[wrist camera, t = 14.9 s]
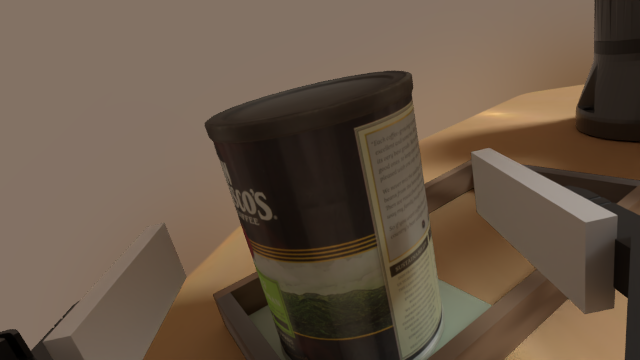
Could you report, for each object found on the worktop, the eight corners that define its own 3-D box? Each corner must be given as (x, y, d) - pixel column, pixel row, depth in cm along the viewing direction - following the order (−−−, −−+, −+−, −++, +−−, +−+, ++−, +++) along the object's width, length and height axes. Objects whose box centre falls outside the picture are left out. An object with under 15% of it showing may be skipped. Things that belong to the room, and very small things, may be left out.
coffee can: (311, 430, 17) (212, 137, 13) (265, 307, 26) (198, 114, 22) (489, 334, 20) (461, 64, 15) (389, 253, 29) (353, 71, 25)
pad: (371, 248, 31) (371, 245, 31) (514, 320, 21) (513, 316, 21) (245, 322, 26) (243, 318, 26) (349, 466, 16) (348, 461, 15)
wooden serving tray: (476, 180, 39) (474, 157, 38) (656, 215, 26) (658, 183, 26) (224, 323, 26) (212, 294, 26) (341, 512, 14) (326, 468, 13)
